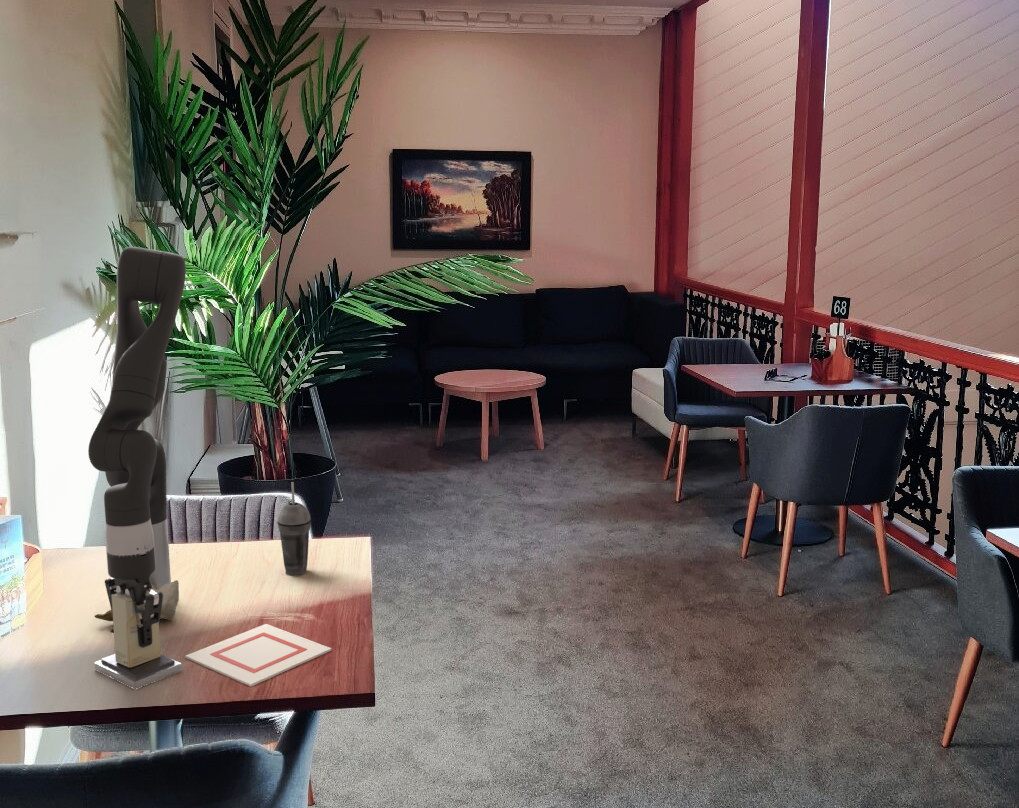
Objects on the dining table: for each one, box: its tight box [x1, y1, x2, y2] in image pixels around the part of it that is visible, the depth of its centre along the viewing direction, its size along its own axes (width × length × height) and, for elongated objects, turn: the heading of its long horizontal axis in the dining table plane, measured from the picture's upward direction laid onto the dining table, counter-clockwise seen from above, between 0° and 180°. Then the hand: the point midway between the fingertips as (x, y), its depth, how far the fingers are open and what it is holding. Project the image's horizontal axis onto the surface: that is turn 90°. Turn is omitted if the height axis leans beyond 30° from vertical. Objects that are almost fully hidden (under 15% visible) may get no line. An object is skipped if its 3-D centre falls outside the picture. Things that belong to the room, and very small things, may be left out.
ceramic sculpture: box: [94, 579, 180, 634], centre depth 195 cm, size 11×9×15 cm
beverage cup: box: [276, 481, 312, 577], centre depth 222 cm, size 7×7×20 cm
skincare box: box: [111, 589, 161, 668], centre depth 175 cm, size 6×4×12 cm
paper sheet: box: [184, 623, 332, 687], centre depth 183 cm, size 18×18×1 cm
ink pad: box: [93, 653, 183, 690], centre depth 176 cm, size 12×9×2 cm
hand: (137, 641), depth 176 cm, fingers closed on skincare box, 4 cm apart
